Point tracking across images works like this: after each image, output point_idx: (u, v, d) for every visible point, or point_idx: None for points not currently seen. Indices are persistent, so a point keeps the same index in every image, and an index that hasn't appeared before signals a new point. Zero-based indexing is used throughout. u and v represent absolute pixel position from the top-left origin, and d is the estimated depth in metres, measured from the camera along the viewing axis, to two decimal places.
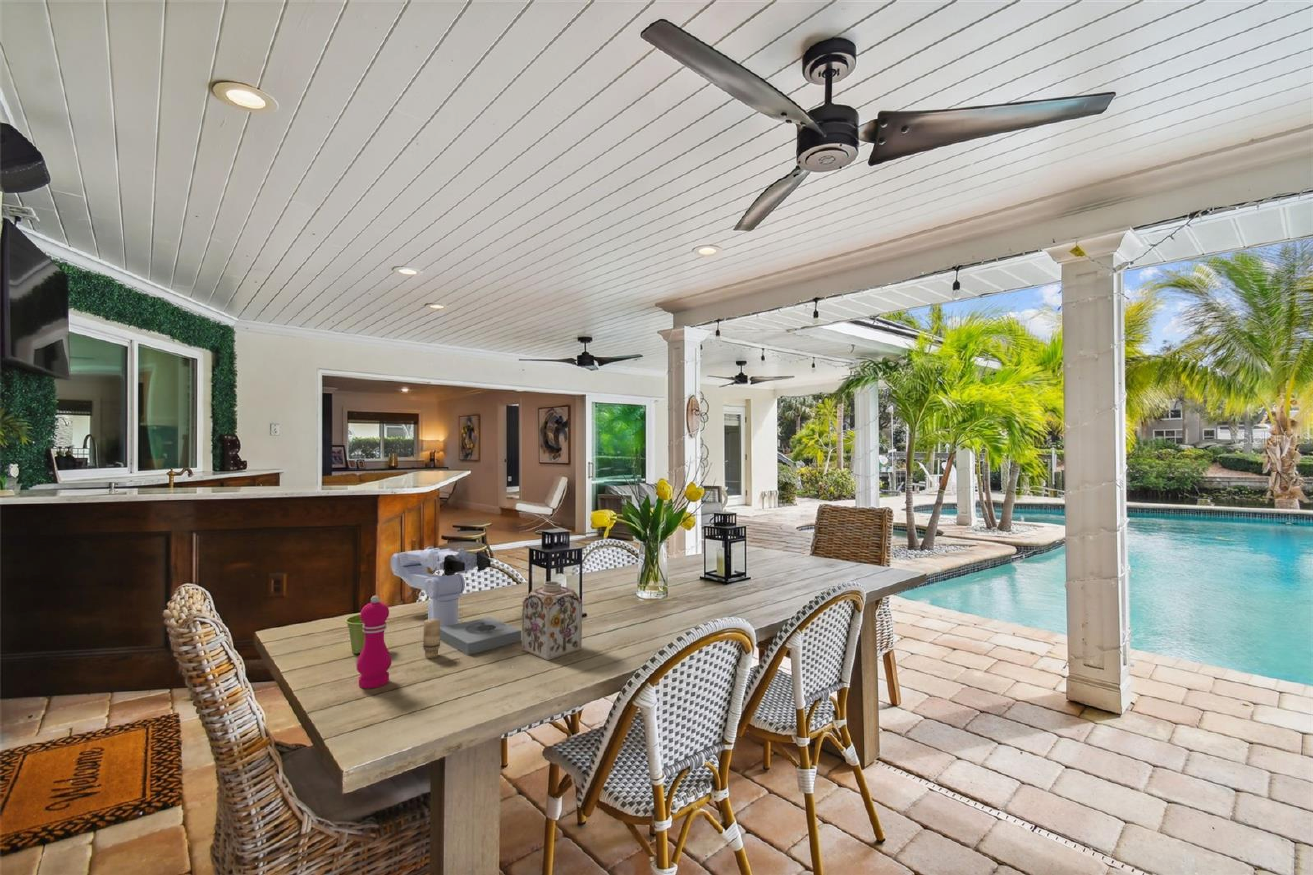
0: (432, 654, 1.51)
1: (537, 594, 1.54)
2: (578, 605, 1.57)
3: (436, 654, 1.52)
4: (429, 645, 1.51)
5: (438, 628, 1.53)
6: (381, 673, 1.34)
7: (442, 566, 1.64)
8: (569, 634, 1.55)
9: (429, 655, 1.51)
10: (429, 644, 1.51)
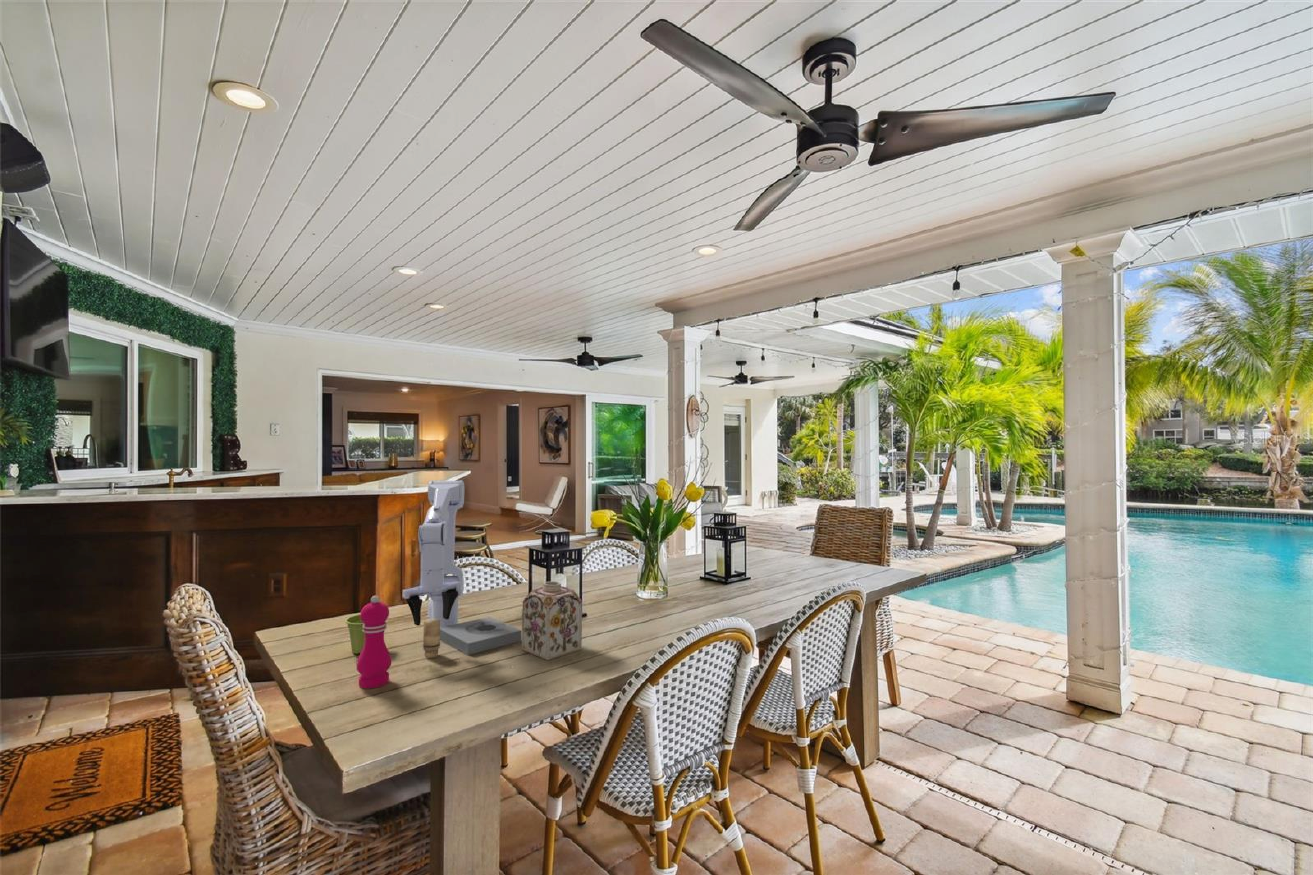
0: (432, 654, 1.51)
1: (537, 594, 1.54)
2: (578, 605, 1.57)
3: (436, 654, 1.52)
4: (429, 645, 1.51)
5: (438, 628, 1.53)
6: (381, 673, 1.34)
7: None
8: (569, 634, 1.55)
9: (429, 655, 1.51)
10: (429, 644, 1.51)
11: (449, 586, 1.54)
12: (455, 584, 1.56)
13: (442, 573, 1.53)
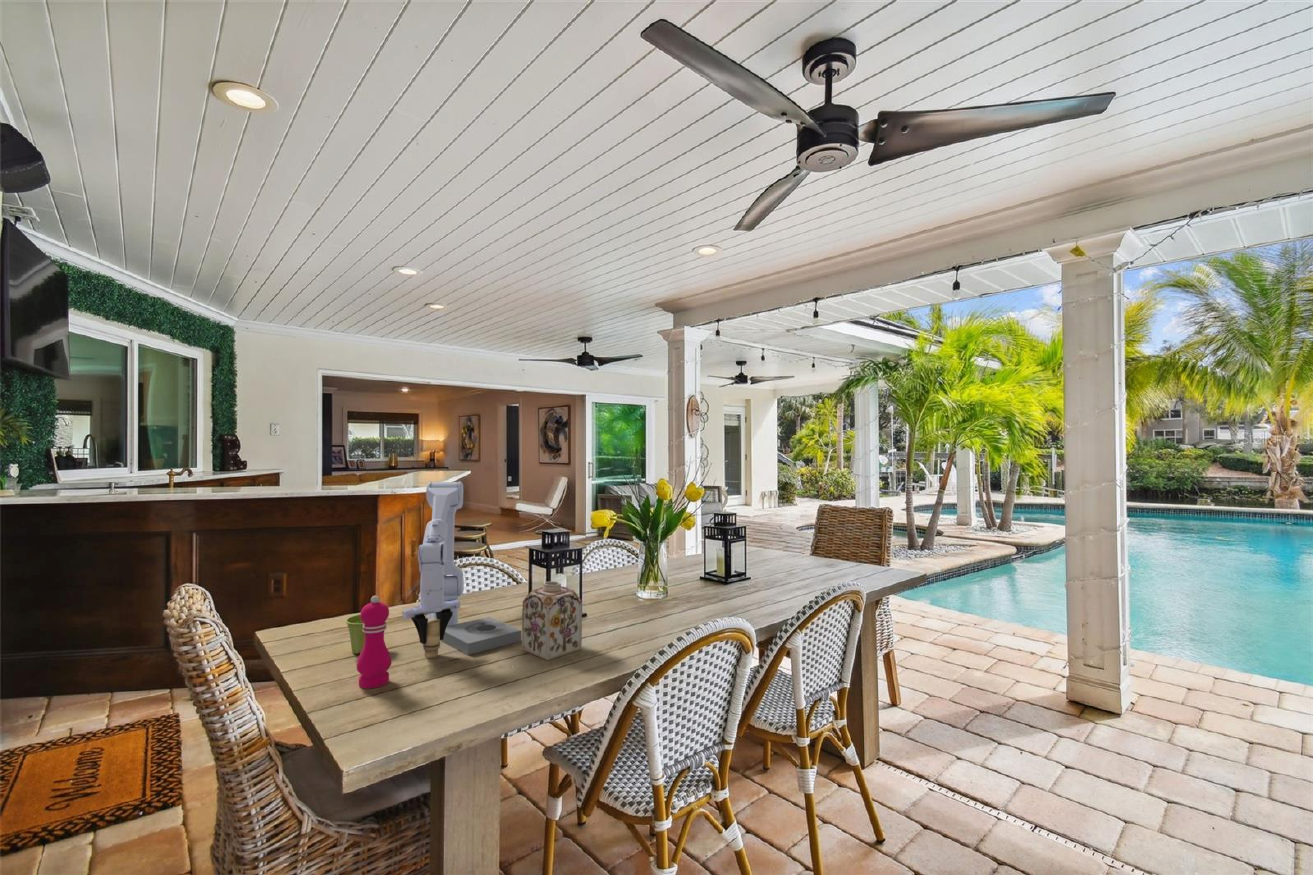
0: (432, 654, 1.51)
1: (537, 594, 1.54)
2: (578, 605, 1.57)
3: (436, 654, 1.52)
4: (429, 645, 1.51)
5: (438, 628, 1.53)
6: (381, 673, 1.34)
7: None
8: (569, 634, 1.55)
9: (429, 655, 1.51)
10: (429, 644, 1.51)
11: (449, 605, 1.54)
12: (455, 603, 1.56)
13: (442, 593, 1.53)
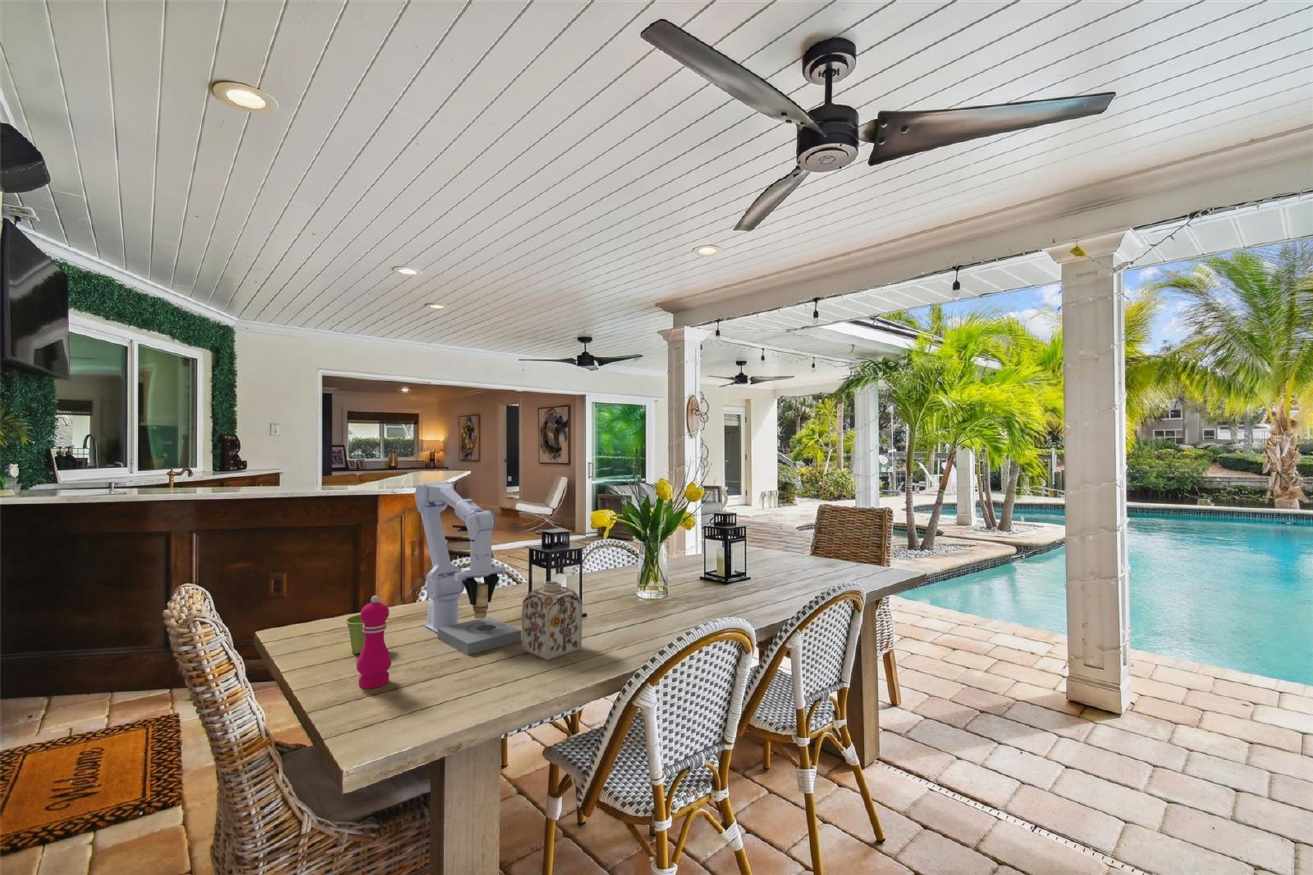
0: (481, 615, 1.64)
1: (537, 594, 1.54)
2: (578, 605, 1.57)
3: (485, 615, 1.65)
4: (478, 606, 1.63)
5: (486, 591, 1.65)
6: (381, 673, 1.34)
7: None
8: (569, 634, 1.55)
9: (479, 616, 1.64)
10: (478, 605, 1.63)
11: (496, 570, 1.67)
12: (501, 569, 1.69)
13: (490, 558, 1.65)
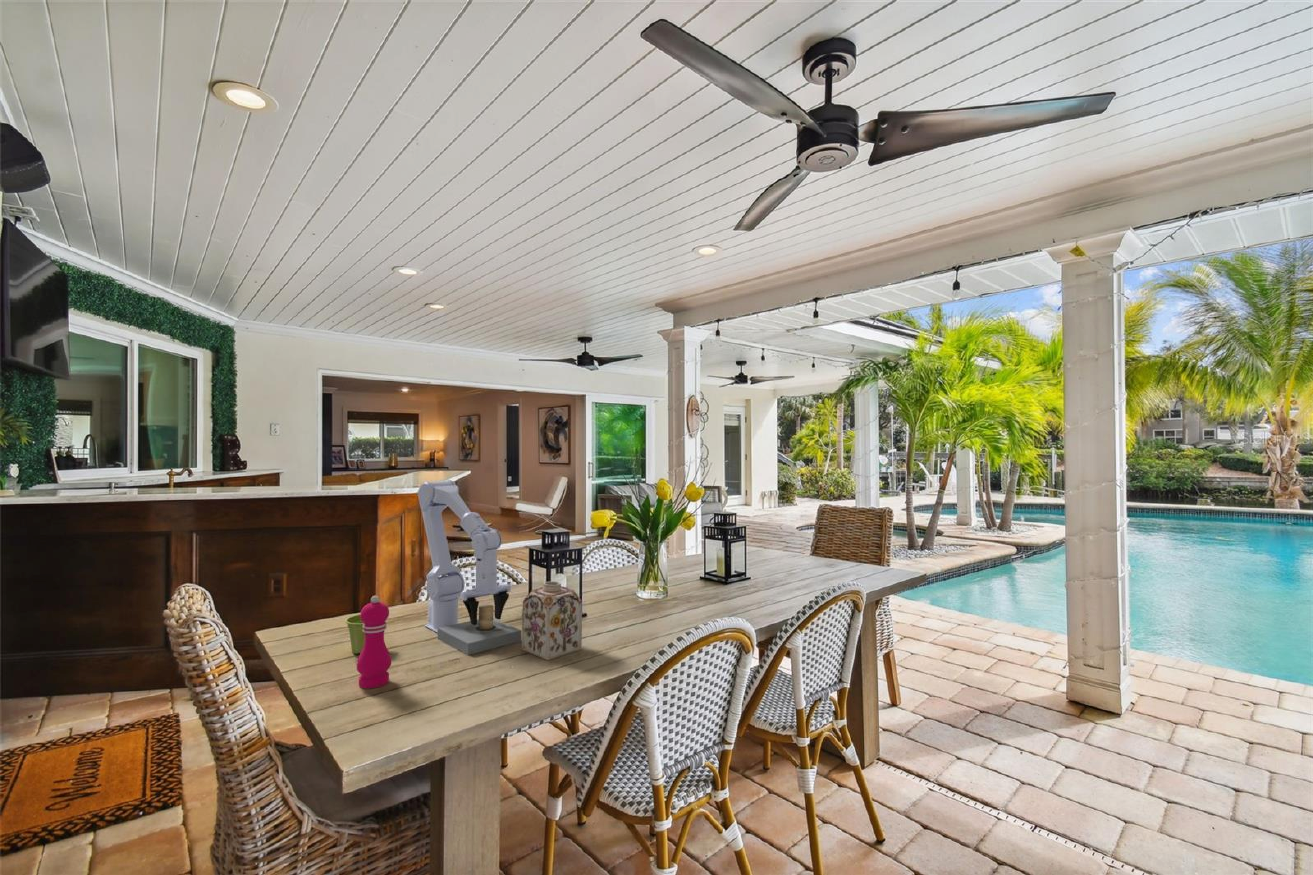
0: None
1: (537, 594, 1.54)
2: (578, 605, 1.57)
3: None
4: (484, 628, 1.65)
5: (492, 613, 1.66)
6: (381, 673, 1.34)
7: None
8: (569, 634, 1.55)
9: None
10: (484, 627, 1.65)
11: (501, 589, 1.69)
12: (506, 587, 1.70)
13: (495, 577, 1.67)
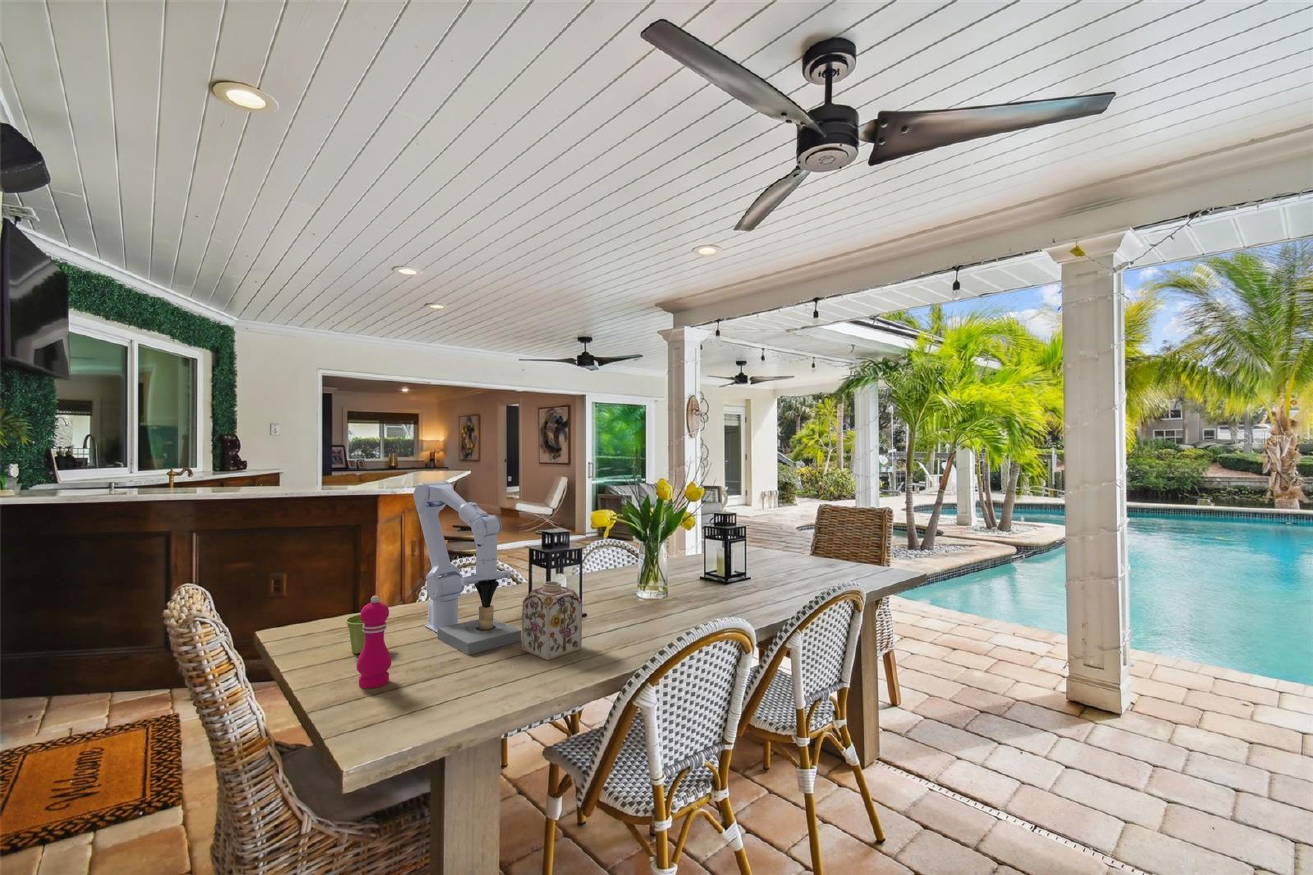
0: None
1: (537, 594, 1.54)
2: (578, 605, 1.57)
3: None
4: (484, 628, 1.65)
5: (492, 613, 1.66)
6: (381, 673, 1.34)
7: None
8: (569, 634, 1.55)
9: None
10: (484, 627, 1.65)
11: (501, 574, 1.69)
12: (506, 573, 1.70)
13: (495, 562, 1.67)
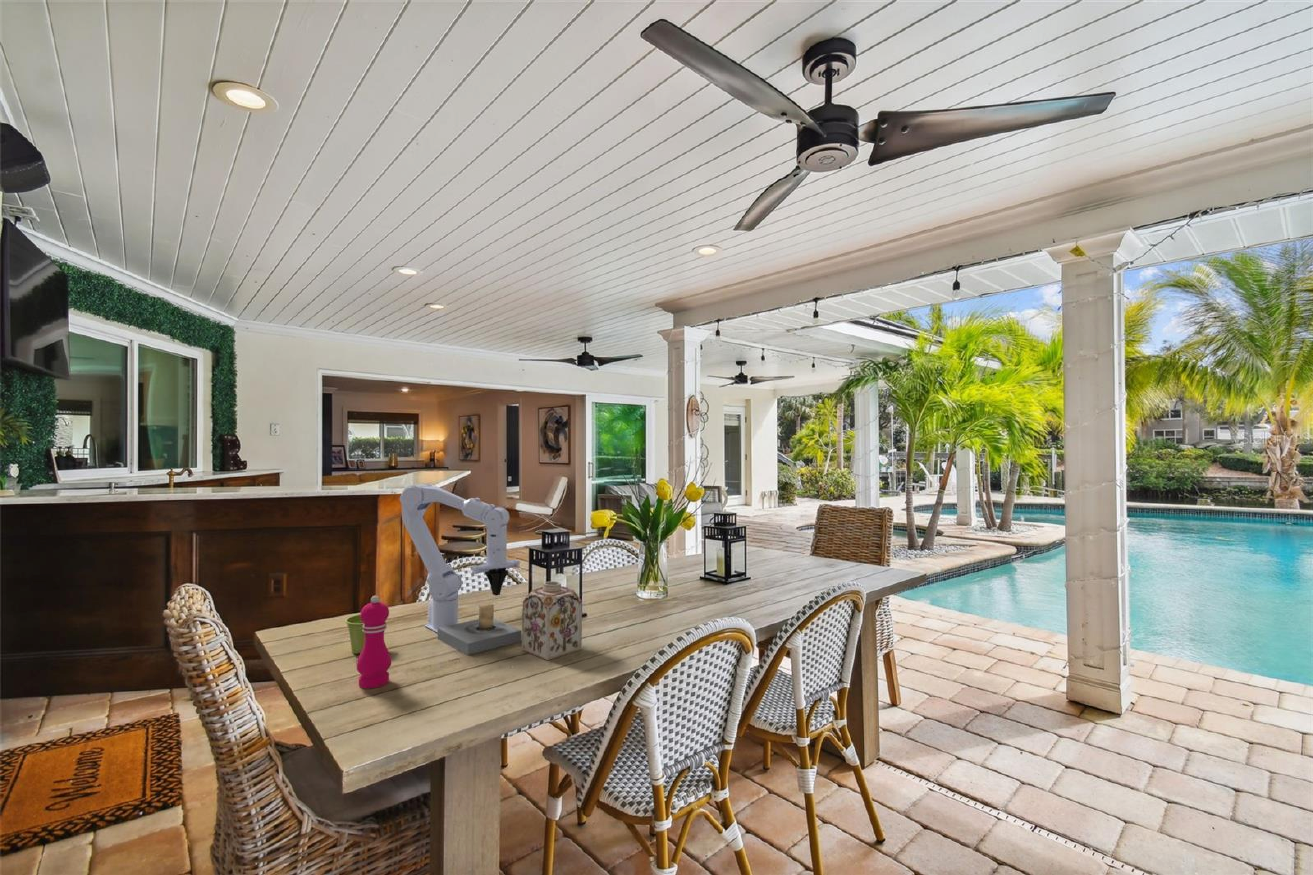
0: None
1: (537, 594, 1.54)
2: (578, 605, 1.57)
3: None
4: (484, 627, 1.65)
5: (492, 611, 1.67)
6: (381, 673, 1.34)
7: None
8: (569, 634, 1.55)
9: None
10: (484, 626, 1.65)
11: (511, 564, 1.76)
12: (515, 562, 1.78)
13: (505, 552, 1.75)
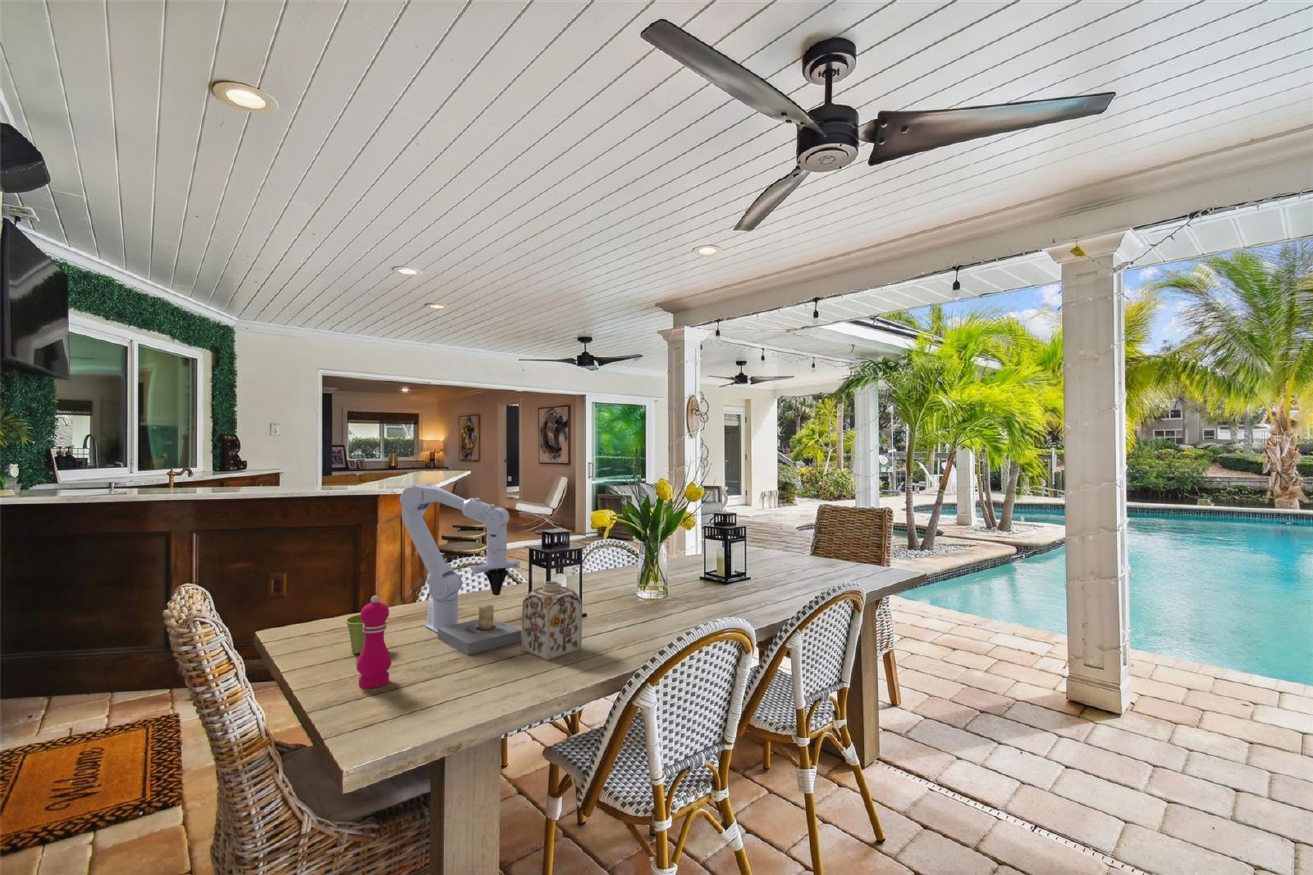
0: None
1: (537, 594, 1.54)
2: (578, 605, 1.57)
3: None
4: (484, 628, 1.65)
5: (492, 613, 1.66)
6: (381, 673, 1.34)
7: None
8: (569, 634, 1.55)
9: None
10: (484, 627, 1.65)
11: (511, 564, 1.76)
12: (515, 562, 1.78)
13: (505, 552, 1.75)
